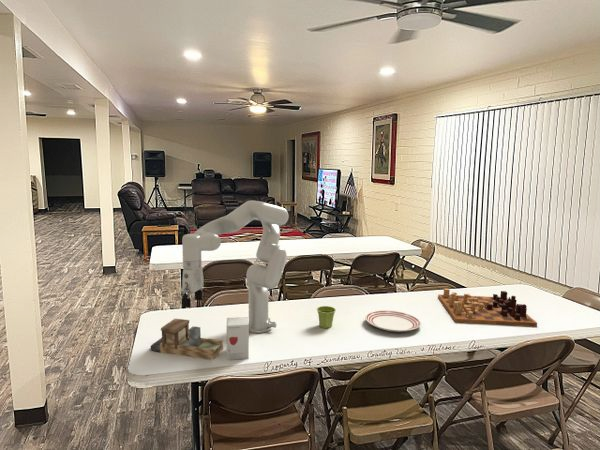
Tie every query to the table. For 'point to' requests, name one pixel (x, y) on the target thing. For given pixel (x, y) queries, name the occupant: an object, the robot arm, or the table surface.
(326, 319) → the plant pot
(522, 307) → the gameboard
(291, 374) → the table surface
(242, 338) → the supplement box
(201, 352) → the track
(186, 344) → the beige and grey block
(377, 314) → the dinner plate
